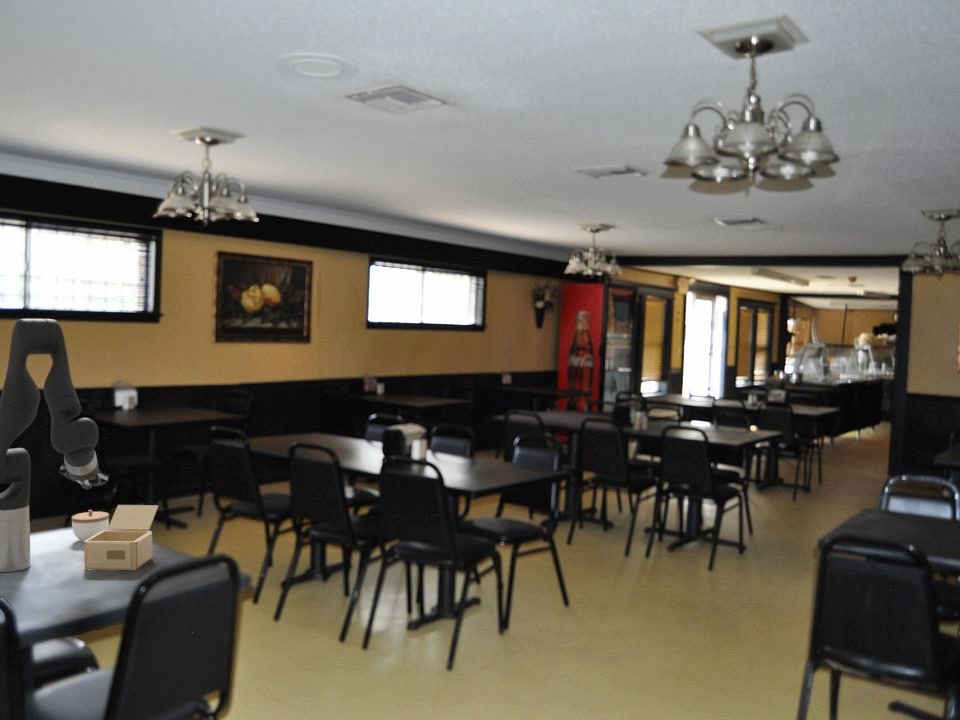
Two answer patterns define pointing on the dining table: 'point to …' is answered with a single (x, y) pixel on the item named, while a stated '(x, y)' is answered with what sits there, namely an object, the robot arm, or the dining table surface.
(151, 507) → the flap
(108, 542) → the carton
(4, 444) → the robot arm
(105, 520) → the lidded jar
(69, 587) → the dining table surface
